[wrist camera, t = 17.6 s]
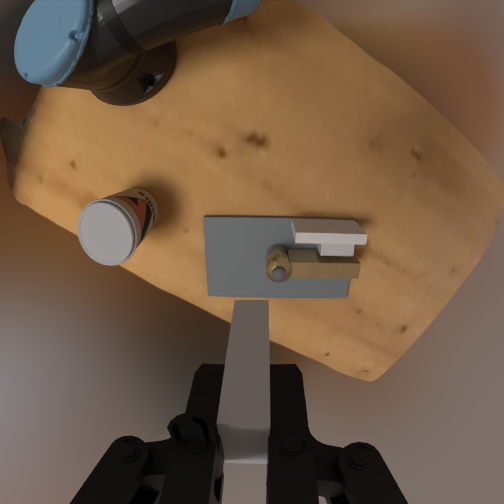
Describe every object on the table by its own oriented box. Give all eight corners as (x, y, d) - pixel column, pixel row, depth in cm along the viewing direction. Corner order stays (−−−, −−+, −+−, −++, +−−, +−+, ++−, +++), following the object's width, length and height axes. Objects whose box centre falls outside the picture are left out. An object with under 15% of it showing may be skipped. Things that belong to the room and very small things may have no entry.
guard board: (204, 215, 47) (192, 233, 39) (355, 218, 46) (372, 236, 38) (209, 293, 52) (200, 321, 44) (345, 294, 51) (356, 322, 44)
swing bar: (265, 265, 48) (265, 282, 43) (266, 244, 47) (266, 259, 42) (349, 267, 48) (358, 283, 43) (352, 246, 46) (362, 261, 41)
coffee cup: (172, 225, 48) (146, 254, 37) (127, 244, 49) (95, 275, 38) (148, 173, 44) (114, 188, 33) (104, 196, 46) (65, 217, 35)
